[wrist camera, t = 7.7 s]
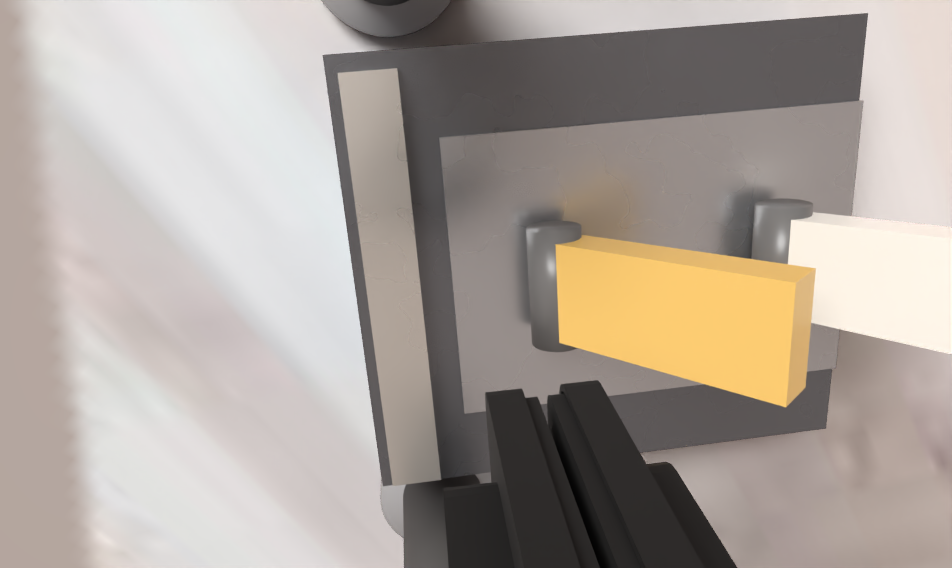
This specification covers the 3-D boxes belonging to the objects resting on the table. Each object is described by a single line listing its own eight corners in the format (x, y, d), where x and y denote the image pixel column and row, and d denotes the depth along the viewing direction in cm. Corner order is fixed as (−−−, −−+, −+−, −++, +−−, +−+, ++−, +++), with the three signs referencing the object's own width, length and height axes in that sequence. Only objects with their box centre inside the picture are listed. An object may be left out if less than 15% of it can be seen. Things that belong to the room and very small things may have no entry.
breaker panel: (792, 22, 24) (886, 11, 19) (767, 380, 28) (839, 439, 23) (335, 57, 22) (319, 54, 18) (384, 426, 27) (382, 500, 22)
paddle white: (769, 196, 21) (1102, 228, 15) (763, 303, 22) (1070, 370, 16) (744, 206, 20) (1089, 244, 14) (738, 318, 21) (1056, 393, 15)
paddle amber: (548, 218, 20) (820, 253, 15) (553, 327, 22) (807, 395, 16) (514, 230, 19) (793, 271, 14) (521, 344, 20) (781, 422, 15)
